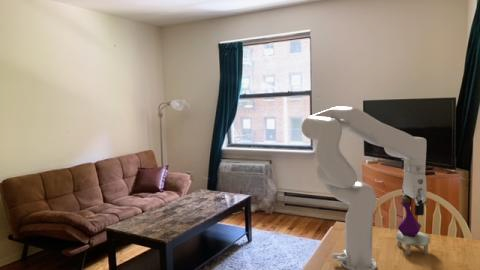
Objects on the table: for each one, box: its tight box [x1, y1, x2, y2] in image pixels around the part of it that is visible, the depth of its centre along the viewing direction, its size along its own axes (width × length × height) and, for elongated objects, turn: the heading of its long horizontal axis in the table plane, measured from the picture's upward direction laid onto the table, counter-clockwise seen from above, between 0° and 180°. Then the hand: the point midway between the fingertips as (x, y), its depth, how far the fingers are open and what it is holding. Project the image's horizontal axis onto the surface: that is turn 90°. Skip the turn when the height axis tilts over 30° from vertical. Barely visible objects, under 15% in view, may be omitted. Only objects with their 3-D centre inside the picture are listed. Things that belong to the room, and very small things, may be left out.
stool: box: [395, 230, 431, 257], centre depth 138 cm, size 12×12×6 cm
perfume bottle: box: [397, 195, 422, 237], centre depth 138 cm, size 8×8×18 cm
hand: (412, 210), depth 136 cm, fingers open, 9 cm apart
